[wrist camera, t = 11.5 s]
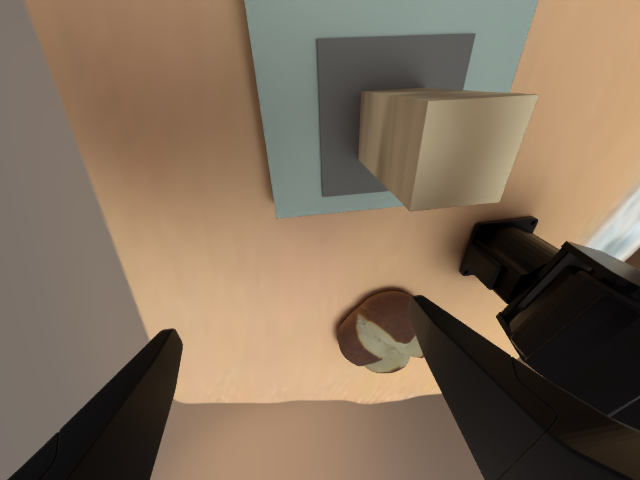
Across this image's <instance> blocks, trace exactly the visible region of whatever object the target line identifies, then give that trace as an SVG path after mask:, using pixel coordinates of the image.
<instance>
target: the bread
mask: <svg viewBox="0 0 640 480" xmlns="http://www.w3.org/2000/svg"><path fill="white" fill-rule="evenodd" d="M410 298H411V296H410V295H407V294H405V293H403V292H399V291H385V292H381V293H378V294H375V295H373V296H371V297H369V298H368V299H366V300H365V301H364V302H363V304H361V305H360V306H359V307H358V308H356V309H355V310H354V311H352V312H351V313H350V315H349V316H348V317H347V319H346V320H345V321H344V322H342V323H341V325H340V326H339V329H338V343H339V347H340V350H341V352H342V354H343V355H344V357H345V358H346V359H347V360H349V361H350V362H351V363H353V364H355V365H357V366H365V367H366V368H367V369H369V370H371V371H372V372H376V373H393V372H396V371H398V370H400V369H402V368H404V367H405V366H406V365H407V363H408V361H409V359H410V356H413V357H418V358H423V357H424V355H423V353H422V351H421V348H420V346H419V343H418V340H417V338H416V335H415V332H414V329H413V327H412V324H411V321H410V318H409V316H408V307H409V302H410Z"/></svg>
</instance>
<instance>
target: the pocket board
mask: <svg viewBox="0 0 640 480" xmlns="http://www.w3.org/2000/svg"><path fill="white" fill-rule="evenodd" d="M244 1H245V8H246V15H247V22H248V29H249V35H250V42H251V49H252V56H253V62H254V69H255V76H256V83H257V89H258V96H259V103H260V110H261V117H262V123H263V130H264V137H265V144H266V150H267V157H268V164H269V171H270V177H271V184H272V191H273V198H274V205H275V211H276V218H277V219H279V218H289V217H299V216H309V215H319V214H330V213H340V212H350V211H360V210H370V209H380V208H390V207H400V206H404V205H403V204H402V203H401V202H400V201H399V200H398V199H397V198H396V197H395V196H394V195H393V194H392V193H391V192H390V191H389V190H388V189H387V188H386V187H385V186H384V185H383V184H382V183H381V182H380V181H379V180H378V179H377V178H376V177H375V176H374V175H373V174H372V173H371V172H370V171H369V170H368V169H367V168H366V167H365V166H364V165H363V164H362V163H361V162H360V161H359V160H358V157H359V133H360V109H361V91H374V90H393V89H412V88H437V89H453V90H470V91H486V92H503V93H509V92H510V89H511V86H512V83H513V80H514V76H515V73H516V70H517V67H518V64H519V61H520V57H521V54H522V51H523V48H524V45H525V41H526V38H527V35H528V32H529V29H530V26H531V22H532V19H533V16H534V13H535V10H536V6H537V3H538V0H244Z"/></svg>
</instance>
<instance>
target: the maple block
mask: <svg viewBox="0 0 640 480" xmlns="http://www.w3.org/2000/svg"><path fill="white" fill-rule="evenodd" d="M538 96H539V95H536V94H519V93H503V92H486V91H470V90H453V89H437V88H412V89H393V90H374V91H361V109H360V133H359V157H358V160H359V161H360V162H361V163H362V164H363V165H364V166H365V167H366V168H367V169H368V170H369V171H370V172H371V173H372V174H373V175H374V176H375V177H376V178H377V179H378V180H379V181H380V182H381V183H382V184H383V185H384V186H385V187H386V188H387V189H388V190H389V191H390V192H391V193H392V194H393V195H394V196H395V197H396V198H397V199H398V200H399V201H400V202H401V203H402V204H403V205H404V206H405V207H406V208H407V209H408V210H409V211H418V210H428V209H438V208H448V207H457V206H467V205H477V204H487V203H497V202H500V199H501V196H502V194H503V191H504V188H505V185H506V183H507V180H508V177H509V175H510V172H511V169H512V167H513V164H514V161H515V158H516V156H517V153H518V150H519V148H520V145H521V142H522V140H523V137H524V134H525V131H526V129H527V126H528V123H529V121H530V118H531V115H532V113H533V110H534V107H535V104H536V102H537V99H538Z"/></svg>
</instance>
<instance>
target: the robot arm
mask: <svg viewBox="0 0 640 480" xmlns="http://www.w3.org/2000/svg"><path fill="white" fill-rule="evenodd" d="M537 223H538V219H536V218H534V217H525V218H516V219H506V220H497V221H488V222H480V223H477V224H476V225H475V227H474V229H473V232H472V235H471V238H470V241H469V244H468V247H467V250H466V253H465V256H464V259H463V262H462V266H461V269H460V273H461V274H462V275H463V276H469V275H475V276H476V277H477V278H478V279H479V280H480V281H481V282H482V283H483V284H484V285H485V286H486V287H487V288H488V289H489V290H493V291H494V292H495V293H496V294H497V295H498V296H499V297H500V298H501V299H502V300H503V301H504V302H505V303H506V304H508V305H507V306H506V308H505V309H504V310H503V311H502V312H499V313H498V314H497V315H496V318H497V320H498V321H499V323H500V325H501V326H502V328H503V330H504V331H505V333H506V335H507V336H508V338H509V340H510V341H511V343H512V345H513V346H514V348H515V350H516V351H517V353H518V354H519V356H520V358H521V359H522V360H523V361H524V362H525V363H526V364H528V365H529V366H530V367H531V368H532V369H534V370H535V371H536V372H538V373H539V374H540V375H539V374H537V373H536V372H534V371H533V370H531V369H530V368H528V367H527V366H525V365H524V364H522V363H521V362H519V361H518V360H517V359H515V358H514V357H511V356H510V355H509V354H508V353H506V352H505V351H503V350H502V349H500V348H499V347H497V346H496V345H494V344H493V343H491V342H490V341H489V340H487V339H486V338H484V337H483V336H481V335H480V334H478V333H477V332H475V331H474V330H472V329H471V328H470V327H468V326H467V325H465V324H464V323H462V322H461V321H459V320H458V319H456V318H455V317H453V316H452V315H450V314H449V313H448V312H446V311H445V310H443V309H442V308H440V307H439V306H437V305H436V304H434V303H433V302H431V301H430V300H429V299H427V298H426V297H424V296H422V295H416V296H412V297H411V298H410V302H409V307H408V316H409V318H410V321H411V324H412V327H413V329H414V332H415V335H416V338H417V340H418V343H419V346H420V348H421V351H422V353H423V355H424V357H425V359H426V362H427V364H428V366H429V368H430V370H431V372H432V374H433V376H434V378H435V380H436V382H437V384H438V386H439V388H440V390H441V392H442V394H443V396H444V398H445V400H446V402H447V404H448V406H449V408H450V410H451V412H452V414H453V416H454V418H455V420H456V422H457V425H458V426H459V429H460V430H461V433H462V435H463V437H464V439H465V441H466V443H467V445H468V447H469V449H470V451H471V453H472V455H473V457H474V459H475V461H476V463H477V465H478V467H479V469H480V471H481V473H482V475H483V477H484V479H485V480H640V271H639V270H638V269H636V268H634V267H633V266H630V265H628V264H626V263H624V262H622V261H620V260H618V259H616V258H614V257H612V256H610V255H608V254H606V253H604V252H602V251H598V250H595V249H592V248H588V247H585V246H581V245H578V244H575V243H571V242H568V241H566V242H565V243H564V244H563V245H562V246H561V247H562V248H561V249H560V250H559V249H557V248H556V247H554V246H552V245H551V244H549V243H548V242H546V241H544V240H543V239H541V238H539V237H538V236H536V235H534V234H533V231H534V229H535V227H536V225H537ZM480 227H481V228H480ZM479 228H480V229H479ZM182 349H183V344H182V341H181V339H180V337H179V335H178V333H177V331H176V330H175V329H173V328H172V329H164V330H162V331H160V332H159V333H158V334H157V335H156V336H155V337H154V338H153V339H152V340H151V341H150V342H149V343H148V344H147V345H146V346H145V347H144V348H143V349H142V350H141V351H140V352H139V353H138V354H137V355H136V356H135V357H134V358H133V359H132V360H131V361H129V362H128V364H126V366H124V367H123V368H122V369H121V370H120V371H119V372H118V373H117V374H116V375H115V376H114V377H113V378H112V379H111V380H110V381H109V382H108V383H107V384H106V385H105V386H104V387H103V388H102V389H101V390H100V391H99V392H98V393H97V394H96V395H95V396H94V397H93V398H92V399H91V400H90V401H89V402H88V403H87V404H86V405H85V406H84V407H83V408H82V409H80V411H78V412H77V413H76V414H75V415H74V416H73V417H72V418H71V419H70V420H69V421H68V422H67V423H66V424H65V425H64V426H63V427H62V428H61V429H60V431H59V432H57V433H56V434H55V435H54V436H53V437H52V438H51V439H50V440H49V441H48V442H47V443H46V444H45V445H44V446H43V447H42V448H41V449H39V451H37V452H36V453H35V454H34V455H33V456H32V457H31V458H30V459H29V460H28V461H27V462H26V463H25V464H24V465H23V466H22V467H21V468H20V469H18V470H17V471H16V472H15V473H14V474H13V475H12V476H11V477H10V478H9V479H7V480H150V477H151V474H152V470H153V467H154V463H155V460H156V456H157V453H158V449H159V446H160V442H161V439H162V435H163V432H164V428H165V425H166V421H167V418H168V414H169V411H170V407H171V404H172V401H173V397H174V393H175V389H176V384H177V378H178V372H179V367H180V361H181V355H182ZM541 375H542V376H543V377H542V376H541ZM545 378H546V379H545Z"/></svg>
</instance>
